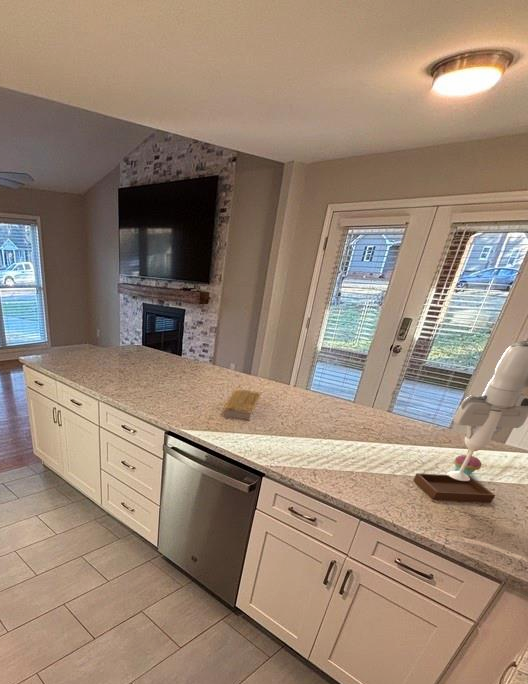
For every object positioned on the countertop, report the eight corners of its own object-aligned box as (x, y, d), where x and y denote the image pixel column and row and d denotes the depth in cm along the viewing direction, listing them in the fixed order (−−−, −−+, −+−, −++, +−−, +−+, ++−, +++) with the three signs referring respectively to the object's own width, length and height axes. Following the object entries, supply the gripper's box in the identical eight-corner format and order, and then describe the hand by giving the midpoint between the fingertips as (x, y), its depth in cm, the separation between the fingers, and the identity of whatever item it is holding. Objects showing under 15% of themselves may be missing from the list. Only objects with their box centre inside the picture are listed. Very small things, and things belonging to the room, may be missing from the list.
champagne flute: (471, 476, 143) (507, 409, 130) (468, 483, 139) (505, 414, 126) (449, 469, 147) (482, 404, 133) (445, 476, 142) (479, 408, 129)
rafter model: (233, 395, 228) (235, 384, 224) (259, 399, 224) (262, 388, 221) (221, 416, 200) (223, 403, 197) (251, 421, 196) (253, 408, 193)
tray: (466, 483, 152) (470, 476, 150) (491, 502, 140) (495, 495, 139) (413, 480, 152) (416, 473, 150) (433, 499, 141) (436, 492, 139)
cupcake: (453, 476, 156) (469, 447, 149) (445, 466, 163) (459, 438, 156) (479, 480, 154) (495, 450, 148) (470, 469, 161) (485, 441, 155)
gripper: (472, 398, 125) (452, 440, 133) (540, 401, 125) (516, 444, 132) (460, 391, 130) (441, 433, 138) (525, 395, 130) (502, 436, 137)
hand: (478, 438), depth 135 cm, fingers closed on champagne flute, 5 cm apart
